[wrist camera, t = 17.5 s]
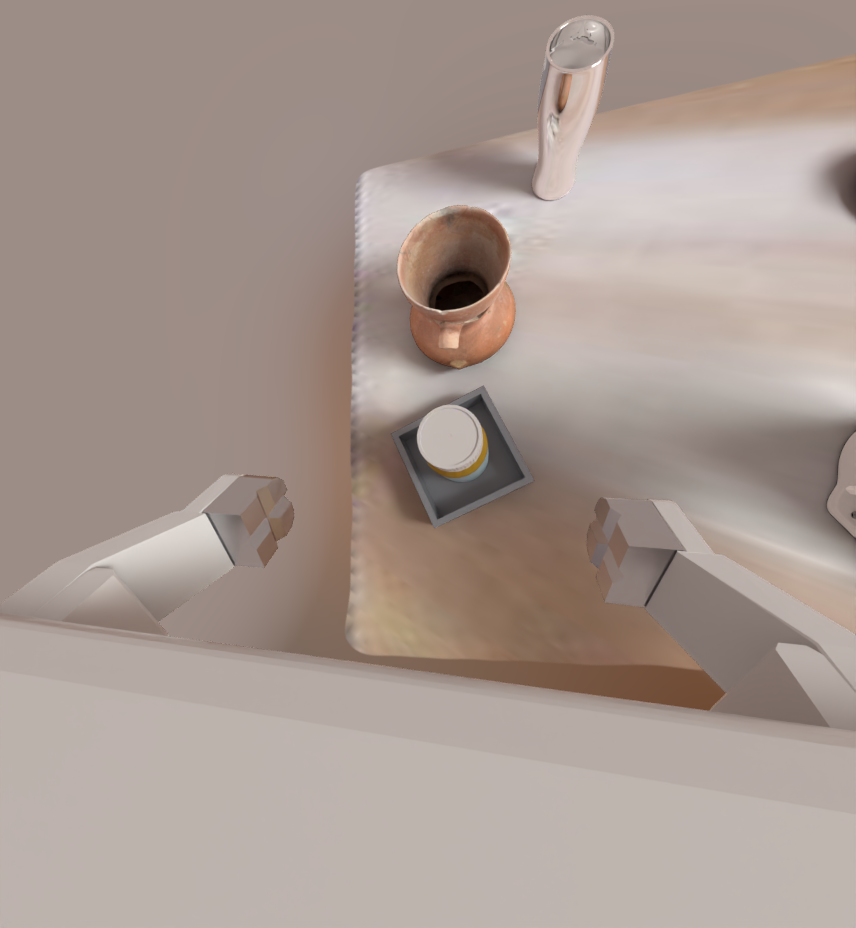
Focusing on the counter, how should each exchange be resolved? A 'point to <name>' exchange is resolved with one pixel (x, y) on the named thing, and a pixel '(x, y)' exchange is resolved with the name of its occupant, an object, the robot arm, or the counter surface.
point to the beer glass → (569, 100)
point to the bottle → (453, 443)
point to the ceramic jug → (458, 285)
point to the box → (460, 498)
